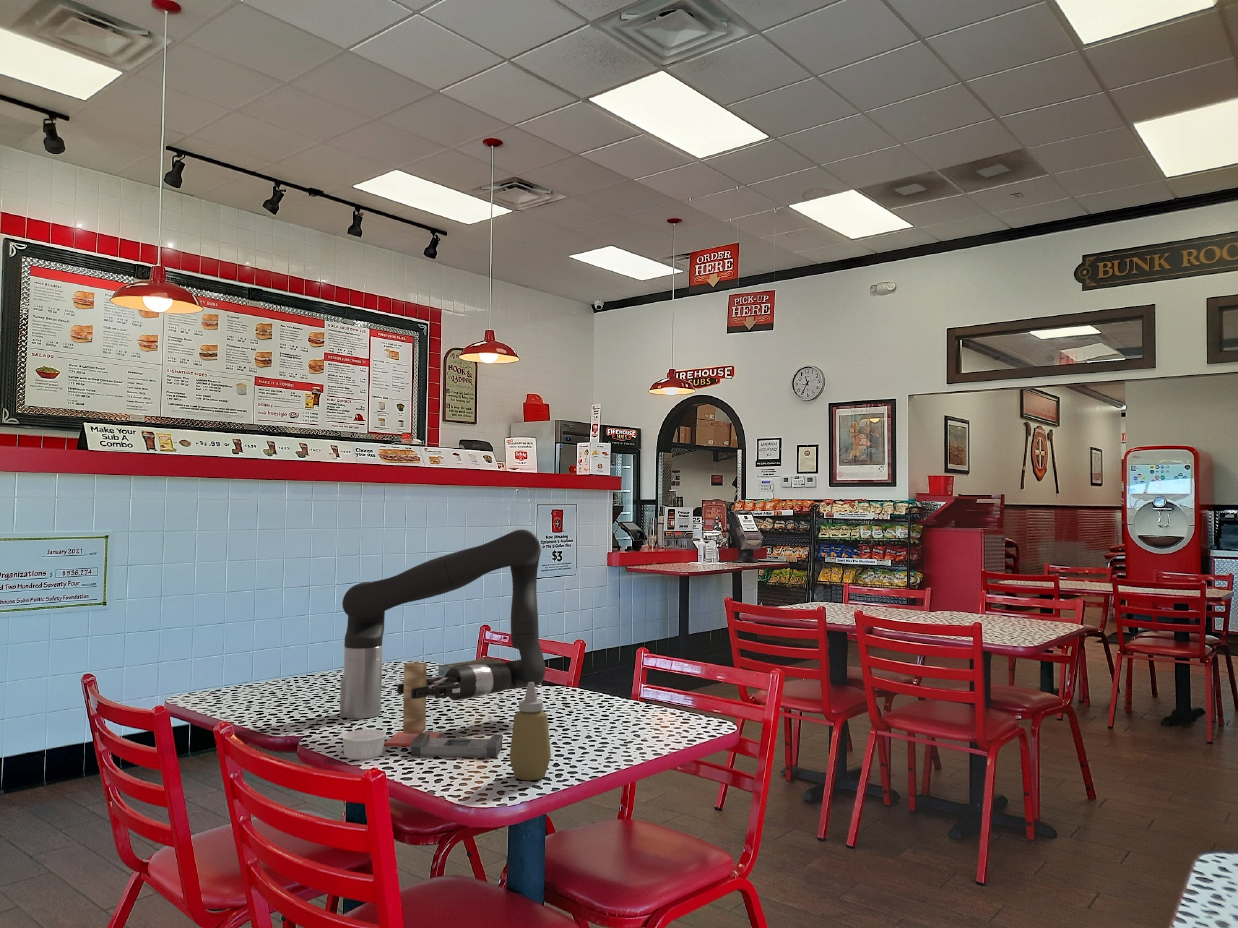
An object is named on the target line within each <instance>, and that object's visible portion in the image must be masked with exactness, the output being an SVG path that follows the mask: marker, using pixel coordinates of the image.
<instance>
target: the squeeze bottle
mask: <svg viewBox="0 0 1238 928" xmlns="http://www.w3.org/2000/svg"><path fill="white" fill-rule="evenodd" d="M524 695H525V696H524V698H523V699H521V700H519V702H518V711H517V712H516V713H515V714H514V715H513V721H512V730H511V732H512V733H511V740H510V750H509V763H510V764H511V769H512V771H513V775H514V777H515V778H516V779H518V780H523V781H535V780H536V781H537V780H541V779H543V778H545V776H546V773H547V770H548V767H549V763H550V760H551V757H552V753H551V751H552V750H551V742H550V741H551V740H550V739H551V738H550V731H549V730H550V729H549V720H548V719H549V718H548V714H547V713H546V712H545V711H543V710H544V701H543V700H542V699H538V696H537V695H538V694H537V691H536V686H535V684H534V682H528V686H527V688H526V691H525V694H524Z"/></svg>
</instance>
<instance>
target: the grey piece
mask: <svg viewBox="0 0 1238 928" xmlns="http://www.w3.org/2000/svg"><path fill="white" fill-rule="evenodd" d="M501 749H503V734H501V733H498V734H497V733H493V734H492V735H491V737H490V738H466V737H465V738H461V737H459V738H458V737H457V738H456V737H454V738H453V737H449V738H448V737H439V738H430V733H420V734H419V735H418V736H417V737H416V738H415V739H414V740H413V741H411V746H410V756H411V757H436V756H442V758H444V757H446V758H447V757H450V758H453V757H454V758H497V757H498V756H499V754H500V753H501V751H502V750H501Z"/></svg>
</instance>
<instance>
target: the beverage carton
mask: <svg viewBox="0 0 1238 928" xmlns="http://www.w3.org/2000/svg"><path fill="white" fill-rule="evenodd" d="M491 663H504V661H503V659H497V658H492V657H482V658H478V659H474V660H469V661H467V660H466V661H461V662H456V663H455V662H453V663H447V664H445V663H444V664H439V665H438V671H437V672H438V675H437V676H442V678H444V677H445V675H446V673H447V671H448V670H449V669H451V668H455V667H462V666H469V665H484V664H491Z"/></svg>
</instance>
